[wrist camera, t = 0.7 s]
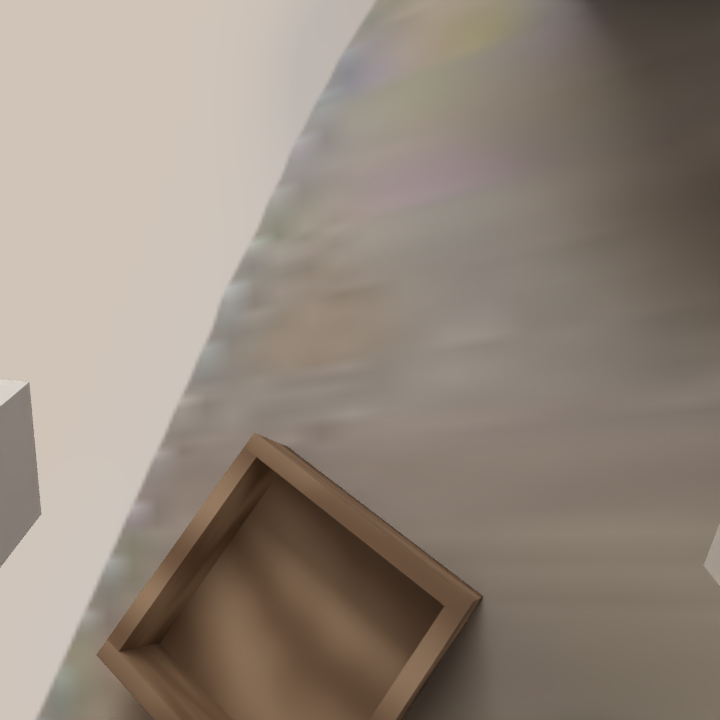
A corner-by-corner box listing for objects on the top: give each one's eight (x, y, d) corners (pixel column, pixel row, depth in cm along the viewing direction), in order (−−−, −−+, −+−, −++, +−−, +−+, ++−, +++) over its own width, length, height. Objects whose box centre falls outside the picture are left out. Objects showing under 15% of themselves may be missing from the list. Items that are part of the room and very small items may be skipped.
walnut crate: (287, 446, 41) (254, 432, 36) (483, 596, 35) (473, 601, 30) (148, 643, 40) (96, 654, 35) (327, 832, 34) (292, 876, 29)
